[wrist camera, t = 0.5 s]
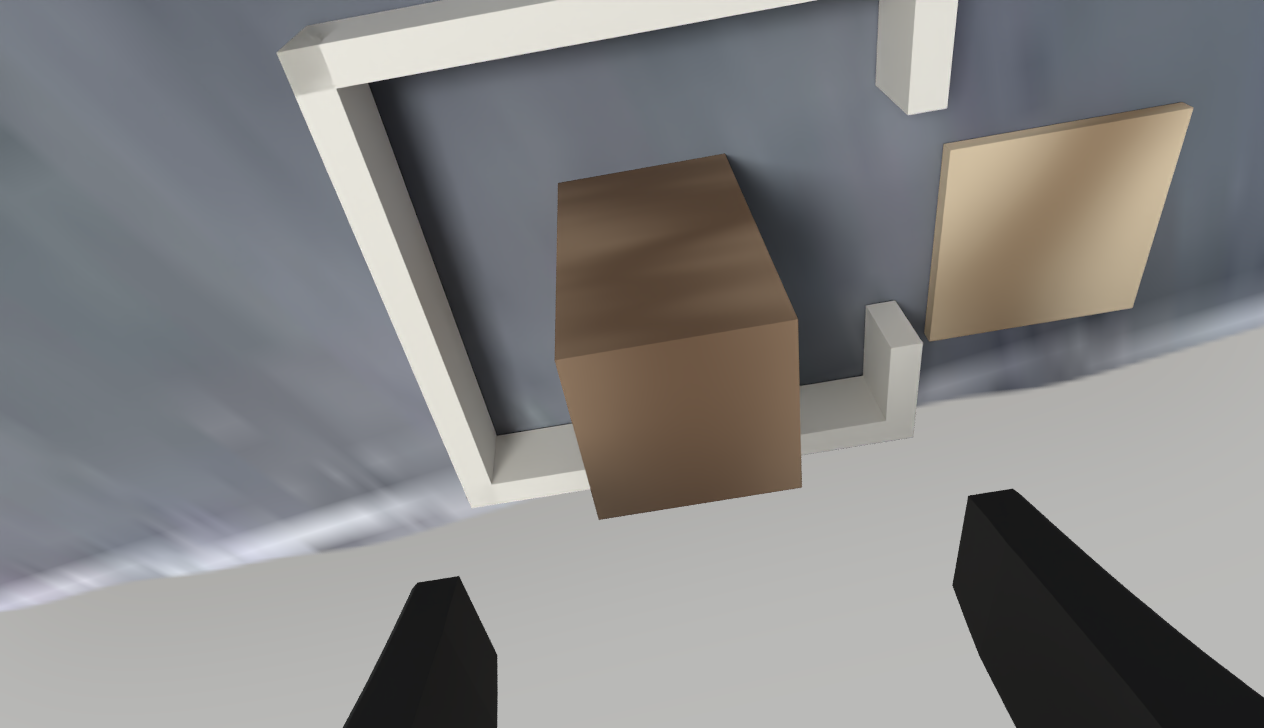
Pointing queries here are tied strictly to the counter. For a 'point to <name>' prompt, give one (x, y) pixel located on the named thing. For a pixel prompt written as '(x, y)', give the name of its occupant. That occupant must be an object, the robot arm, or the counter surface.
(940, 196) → the cork trivet
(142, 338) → the counter surface
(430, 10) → the white open square frame
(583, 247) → the walnut block
